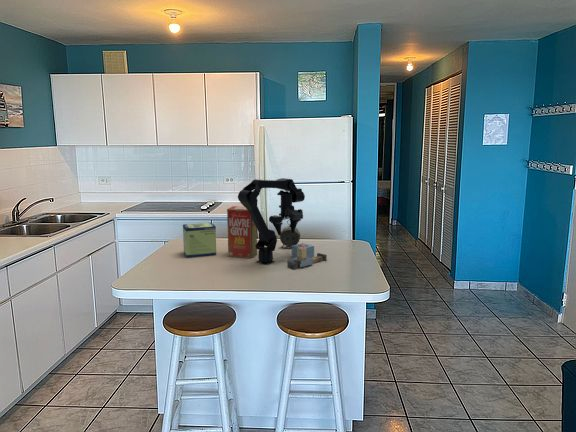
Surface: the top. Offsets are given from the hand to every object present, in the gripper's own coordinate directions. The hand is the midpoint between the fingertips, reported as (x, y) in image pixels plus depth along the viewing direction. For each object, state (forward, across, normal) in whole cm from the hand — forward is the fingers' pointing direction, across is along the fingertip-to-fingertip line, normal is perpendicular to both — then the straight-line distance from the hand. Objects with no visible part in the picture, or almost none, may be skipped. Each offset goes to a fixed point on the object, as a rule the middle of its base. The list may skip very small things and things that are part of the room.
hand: (286, 234), depth 235 cm
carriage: (+12, -5, -16) cm, 21 cm away
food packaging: (+12, -14, +18) cm, 26 cm away
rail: (+12, -1, -16) cm, 20 cm away
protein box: (+12, -29, +35) cm, 47 cm away
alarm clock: (+12, +14, +12) cm, 22 cm away
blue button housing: (+12, +6, -6) cm, 15 cm away
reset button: (+11, +6, -6) cm, 14 cm away
